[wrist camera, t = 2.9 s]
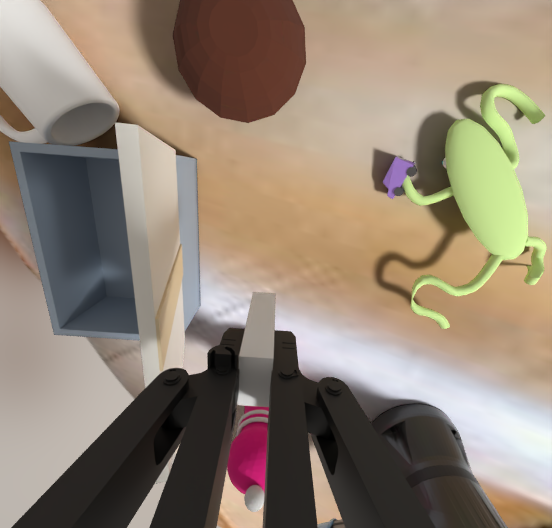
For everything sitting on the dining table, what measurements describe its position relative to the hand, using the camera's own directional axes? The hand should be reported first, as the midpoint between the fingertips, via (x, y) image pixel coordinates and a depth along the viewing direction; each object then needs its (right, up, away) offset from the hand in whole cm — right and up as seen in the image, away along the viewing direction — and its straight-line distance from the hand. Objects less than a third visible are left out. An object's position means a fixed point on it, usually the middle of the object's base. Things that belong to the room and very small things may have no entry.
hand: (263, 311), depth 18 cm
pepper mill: (-1, -11, +24) cm, 26 cm away
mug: (-23, +22, +13) cm, 35 cm away
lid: (-8, +1, +2) cm, 8 cm away
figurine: (+25, +9, +17) cm, 31 cm away
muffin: (-2, +24, +12) cm, 27 cm away
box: (-16, +7, +17) cm, 25 cm away
